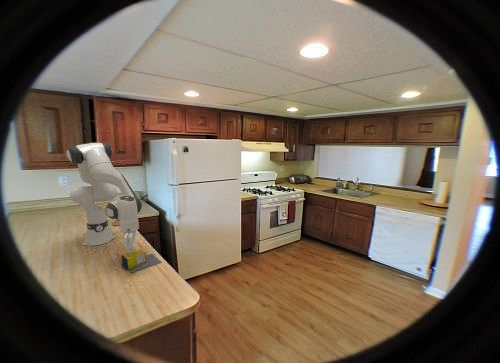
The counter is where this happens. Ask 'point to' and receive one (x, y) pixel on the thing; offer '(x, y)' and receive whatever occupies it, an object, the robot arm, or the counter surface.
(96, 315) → the counter surface
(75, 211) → the counter surface
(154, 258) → the mat
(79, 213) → the counter surface
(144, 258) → the supplement box
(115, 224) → the candle holder
